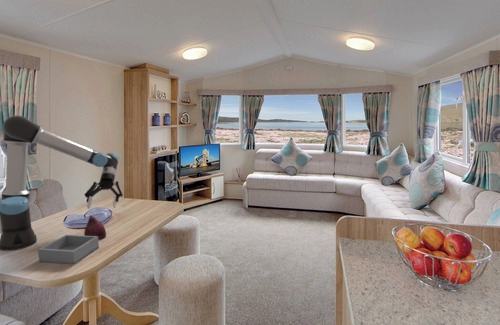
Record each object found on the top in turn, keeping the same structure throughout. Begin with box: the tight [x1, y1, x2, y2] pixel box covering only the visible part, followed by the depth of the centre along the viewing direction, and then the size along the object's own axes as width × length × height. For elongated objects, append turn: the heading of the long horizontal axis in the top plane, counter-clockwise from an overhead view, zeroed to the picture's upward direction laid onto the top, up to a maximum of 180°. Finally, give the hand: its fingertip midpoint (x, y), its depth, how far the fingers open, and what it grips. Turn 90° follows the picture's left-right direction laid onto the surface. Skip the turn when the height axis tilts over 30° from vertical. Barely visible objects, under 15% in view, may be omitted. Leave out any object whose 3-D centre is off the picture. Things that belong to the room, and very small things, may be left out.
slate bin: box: [37, 234, 100, 266], centre depth 136 cm, size 17×17×6 cm
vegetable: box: [83, 215, 107, 242], centre depth 154 cm, size 10×10×15 cm
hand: (101, 207), depth 163 cm, fingers open, 13 cm apart
